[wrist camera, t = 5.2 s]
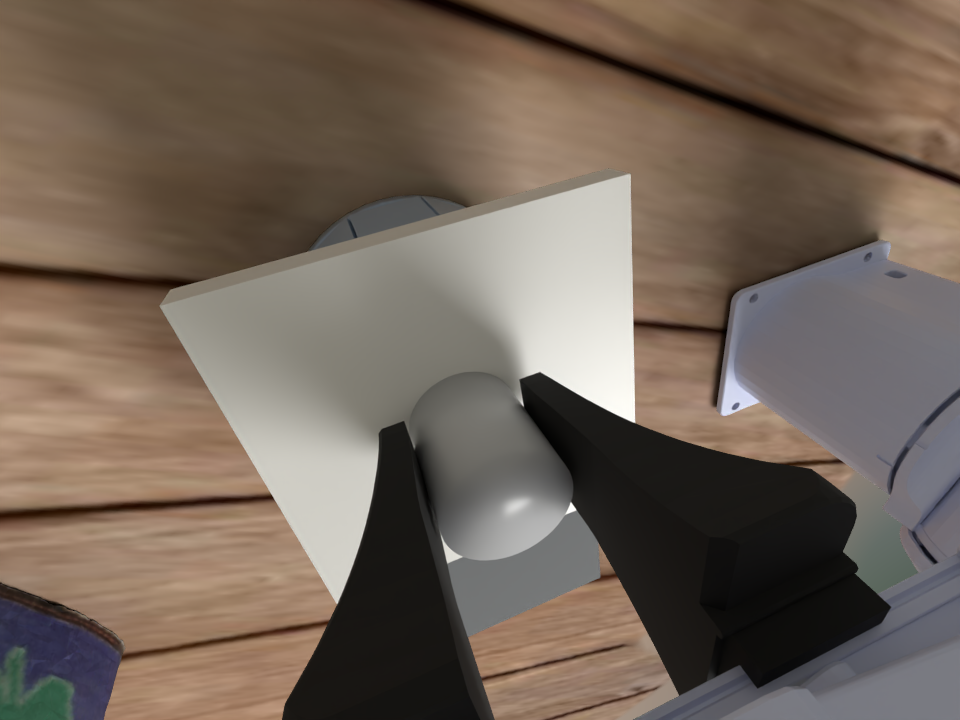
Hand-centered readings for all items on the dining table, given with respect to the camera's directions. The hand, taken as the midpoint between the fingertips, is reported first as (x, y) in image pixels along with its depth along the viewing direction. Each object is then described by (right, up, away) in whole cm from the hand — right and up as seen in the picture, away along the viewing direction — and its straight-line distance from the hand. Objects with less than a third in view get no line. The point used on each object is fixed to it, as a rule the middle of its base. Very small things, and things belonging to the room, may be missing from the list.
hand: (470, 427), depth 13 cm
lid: (0, +1, +2) cm, 2 cm away
